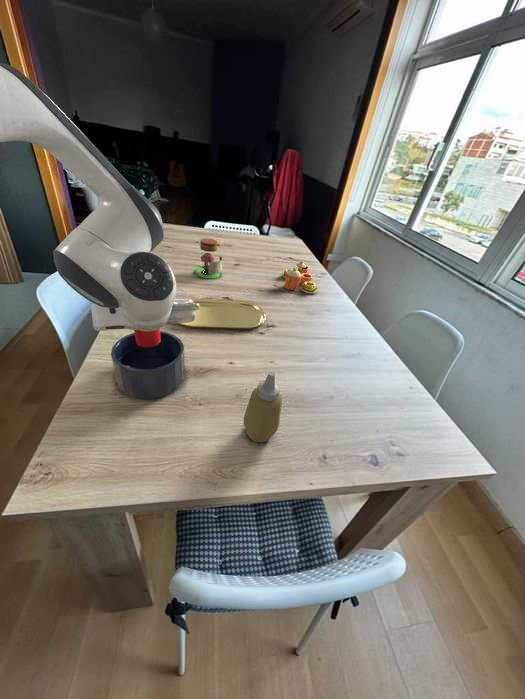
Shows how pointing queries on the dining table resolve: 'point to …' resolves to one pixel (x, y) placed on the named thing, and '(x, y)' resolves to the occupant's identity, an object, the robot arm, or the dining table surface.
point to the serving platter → (226, 314)
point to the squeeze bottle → (263, 410)
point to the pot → (148, 366)
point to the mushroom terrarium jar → (209, 260)
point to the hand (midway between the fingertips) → (146, 323)
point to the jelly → (147, 338)
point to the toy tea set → (299, 278)
